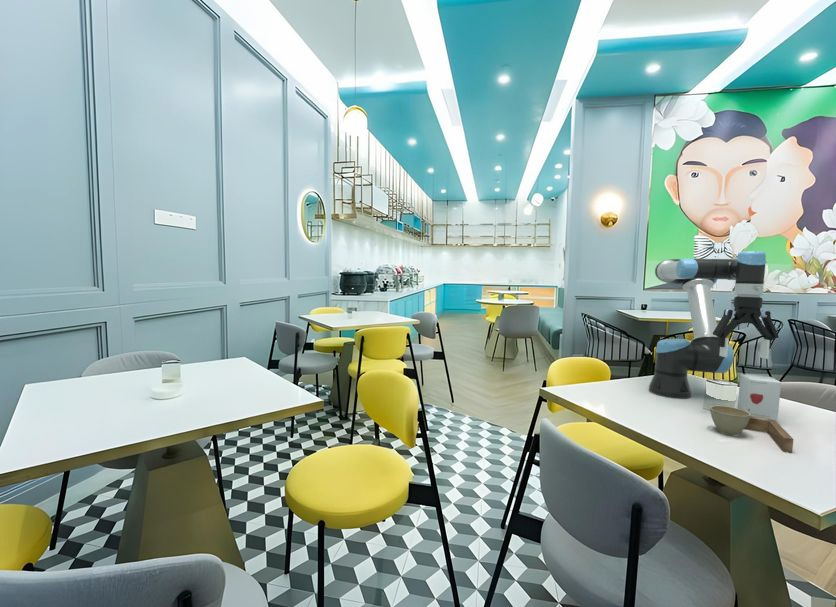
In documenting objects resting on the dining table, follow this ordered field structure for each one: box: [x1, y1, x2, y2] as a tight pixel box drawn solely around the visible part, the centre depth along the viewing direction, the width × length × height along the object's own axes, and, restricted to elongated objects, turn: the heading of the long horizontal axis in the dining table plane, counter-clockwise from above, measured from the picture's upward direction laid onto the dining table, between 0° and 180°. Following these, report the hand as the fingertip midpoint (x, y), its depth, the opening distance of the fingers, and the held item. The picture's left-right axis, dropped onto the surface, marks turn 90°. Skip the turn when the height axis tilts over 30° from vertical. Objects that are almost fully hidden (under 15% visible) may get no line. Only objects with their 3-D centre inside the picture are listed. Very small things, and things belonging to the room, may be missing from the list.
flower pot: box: [709, 405, 751, 436], centre depth 123 cm, size 10×10×7 cm
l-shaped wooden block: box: [744, 416, 794, 454], centre depth 120 cm, size 12×18×4 cm, turn 149°
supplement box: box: [736, 373, 782, 422], centre depth 137 cm, size 9×9×15 cm
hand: (743, 357), depth 135 cm, fingers open, 13 cm apart
